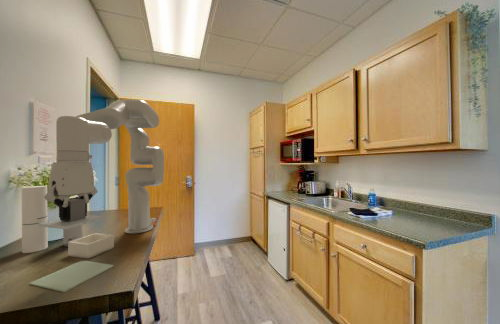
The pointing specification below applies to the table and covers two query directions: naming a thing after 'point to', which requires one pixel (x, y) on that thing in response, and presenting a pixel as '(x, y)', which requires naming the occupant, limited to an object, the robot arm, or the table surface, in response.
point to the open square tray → (90, 245)
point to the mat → (71, 275)
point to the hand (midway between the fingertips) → (73, 217)
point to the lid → (73, 216)
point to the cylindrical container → (34, 219)
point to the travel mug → (72, 232)
